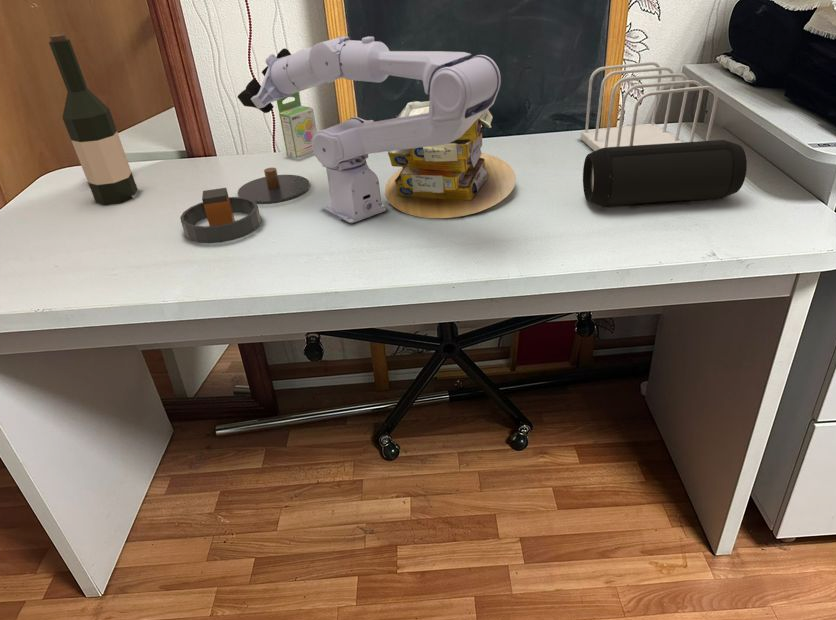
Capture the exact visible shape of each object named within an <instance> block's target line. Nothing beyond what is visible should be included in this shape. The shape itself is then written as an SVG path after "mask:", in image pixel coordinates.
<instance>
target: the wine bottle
mask: <svg viewBox="0 0 836 620" xmlns="http://www.w3.org/2000/svg"><path fill="white" fill-rule="evenodd" d="M49 40H50V41H48V44H49V46H50V50H51V52H52V54H53V58H54V59H55V62H56V65H57V68H58V70H59V72H60V75H61V78H62V80H63V81H62V82H63V83H64V86H65V88H66V92H67V93H66V98H65V103H64V107H63V113H62V117H61V118H62V121H63V123H64V126H65V128H66V130H67V133H68V136H69V138H70V141H71V143H72V145H73V148H74V151H75V153H76V157H77V159H78V161H79V164H80V166H81V168H82V171H83V174H84V176H85V178H86V181H87V183H88V184H87V185H88V186H89V189H90V191H91V194H92V197H93V199H94V202H95V203H97V204H100V205H103V206H109V205H117V204H123V203H125V202H129V201H130V200H133V199H134V197H133V196H135V195H136V193H137V191H138V187H137V184H136V181H135V178H134V176H133V175H134V174H133V172H132V169H131V167H130V163H129V161H128V158H127V155H126V153H125V149H124V147H123V144H122V141H121V138H120V135H119V132H118V129H117V127H116V126H117V125H116V124H115V121H114V118H113V115H112V113H111V110H110V109H111V108H109V107H108V106H107V105H106V104H105V103H103V101H102V100H101V99H100V98H99V97H97V95H95V94H94V93H93V92H92V91H91V90H90V89H89V88H88V87H87V83H86V81H85V78H84V75H83V73H82V70H81V67H80V64H79V61H78V59H77V56H76V53H75V51H74V48H73V45H72V42H71V39H70V38H67V36H66V34H64V33H61V34H59V33H58V34H53V35H50V36H49Z"/></svg>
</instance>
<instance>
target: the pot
mask: <svg viewBox="0 0 836 620" xmlns="http://www.w3.org/2000/svg"><path fill="white" fill-rule="evenodd" d="M229 200H230V204H231V208H232V211H233V214H247V215H246V216H244V217H242V218H240V219H237V220H235V221H234V222H231V223H228V224H223V225H218V226H210V225H207V226H206V225H205V226H204V225H196V224H197V223H199V222H201V221H203V220H205V219H208V218H207V215H206V211H205V208H204V204H203V201H202V202H199V203H196V204H194V205H192V206H189V208H187V209H186V210H184V211H183V212H182V213H181V215H180V219H179V220H180V223H181V226H182V230H183V233H184V236H185V238H187V240H189V241H192V242H195V243H199V244H218V243H225V242H230V241H236V240H238V239H240V238H243V237H246V236H248V235H250V234H252V233H254V232H255V231H256V230H257V229H258V228H260V226H261V223H262V217H261V214H260V209H259V205H258V204H257V203H256V202H255V201H253V200H251V199H247V198H243V197H239V196H229Z"/></svg>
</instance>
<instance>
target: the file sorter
mask: <svg viewBox="0 0 836 620" xmlns="http://www.w3.org/2000/svg"><path fill="white" fill-rule="evenodd" d="M645 66H655V67H648V68H647V67H646V68H636V67H645ZM626 68H632V69H626ZM634 68H635V69H634ZM617 69H623V70H617ZM608 70H614V71H611V72H609V73H607V74H606V75H605V76H604V77H603V79H602V81H601V83H600V84H601V85H600V91H599V98H598V107H597V115H596V124H595V129H590V130H589V125H590V124H589V123H590V113H591V112H590V111H591V100H592V99H591V98H592V89H593V81H594V78H595V76H596V75H597V74H599V72H601V71H608ZM663 71H667V72H669V73H663ZM649 72H658V74H648V75H637V76H625V77H623V78H622V77H621V78H620V79H619V80H618V81H617V82H615V84H614V85H613V87H612V90H611V94H610V99H609V100H610V101H609V108H608V109H609V110H608V117H607V125H606V128H600V121H601V114H602V113H601V112H602V106H603V97H604V89H605V85H606V82H607V80H608V79H609V78H611V77H613V76H615V75H624V74H635V73H649ZM662 73H663V74H662ZM668 78H671V81H663V82H662V79H668ZM676 78H682V79H683V80H677V81H675V80H676ZM654 79H655V80H657V82H651V83H649V82H648V83H640V84H639V83H638V84H634V85H631V86H630V87H629V88H628V89H627V90H626V91H625V92H624V95H623V96H622V100H621V108H620V116H619V121H618V122H619V123H618V126H615V127H611V123H612V115H613V110H614V109H613V108H614V100H615V95H616V90H617V88H618V87H619V85H621V84H622V83H624V82H628V81H629V82H630V81H640V80H641V81H643V80H654ZM679 85H680V86H681V85H685V87H681V88H675V86H679ZM690 85H696V86H692V87H690ZM667 86H670V89H663V90H660V87H667ZM655 87H656V90H654V91H649V92H645V93H643V94H642V95H640V97H638V98H637V101H636V102H635V104H634V110H633V116H632V122H631V125H624V126H623V124H624V123H623V122H624V116H625V108H626V107H625V106H626V101H627V98H628V95H629V94H630V93H631V92H632V91H633V90H636V89H642V88H645V89H646V88H655ZM704 90H705V91H706V90H709V91H711V93H712V94H713V103H712V107H711V108H712V109H711V113H710V119H709V124H708V128H707V132H706V136H705V141H711V136H712V130H713V125H714V120H715V116H716V110H717V107H718V101H719V94H718V91H717V89H716V88H714V87H713V86H711V85H702V84H701V82H700V81H697V80H693V79H690V80H689V79H688V77H687V76H686V75H685V74H683V73H678V72H677V73H675V72H674V70H673V69H672V68H670V67H668V66H661V65H660V64H659V63H657V62H655V61H645V62H636V63H626V64H617V65H616V64H615V65H607V66H601V67H598V68H596V69H595V70H594V71H593V72H592V74H591V75H590V77H589V82H588V92H587V102H586V103H587V104H586V115H585V116H586V117H585V128H584V130H582V131H581V132H580V140H581V141H582V142H584V143H585V144H586V145H587V146H588V147H589V148H590V149H592V150H593V152H594V151H596V150H599V149H601V148H606V147H620V146H636V145H651V144H666V143H682V142H684V141H683V140H681V139H680V138H679V137H680V133H681V127H682V123H683V119H684V114H685V109H686V104H687V99H688V94H689V92H697V91H699V93H698V99H697V103H696V108H695V114H694V118H693V122H692V128H691V131H690V132H691V133H690V137H689V142H694V139H695V133H696V130H697V124H698V119H699V115H700V110H701V105H702V100H703V93H704ZM675 93H676V94H677V93H683V97H682V98H683V99H682V103H681V108H680V114H679V118H678V123H677V128H676V134H675V135H674V134H672V133H671V132H670V131H668V130H667V128H668V122H669V116H670V110H671V105H672V99H673V94H675ZM667 94H668V100H667V106H666V111H665V116H664V122H663V127H662V126H660V125H658V124H657V123H656V122H655V121H656V115H657V109H658V103H659V102H658V101H659V95H667ZM650 96H654V102H653V103H654V104H653V110H652V117H651V122H650V123H642V124H636V123H637V117H638V112H639V106H640V104H641V103H642V101H644V99H646V98H647V97H650Z"/></svg>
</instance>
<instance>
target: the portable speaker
mask: <svg viewBox="0 0 836 620" xmlns="http://www.w3.org/2000/svg"><path fill="white" fill-rule="evenodd" d="M747 166H748V161H747V155H746V151H745V149H744V147H742V145H740V144H738V143H735V142H732V141H729V140H726V139H715V140H709V141H706V140H701V141H700V140H699V141H698V140H697V141H693V142H690V141H683V142H682V143H666V144H651V145H636V146H620V147H606V148H601V149H599V150H596V151H594V150H593V151H592V152H590V153H588V154H587V155H586V156H585V159H584V162H583V167H582V168H583V169H582V188H583V194H584V198H585V201H586V202H587V203H589V204H593V205H596V206H599V207H602V208H616V207H633V206H646V205H647V206H649V205H663V204H679V203H694V202H707V201H716V200H723V199H725V198H726V197H729V196H731V195H734V194H736V193H738V192H739V191H740V190H741V188H742V187H743V185H744V183H745V179H746V176H747V168H748V167H747Z"/></svg>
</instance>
